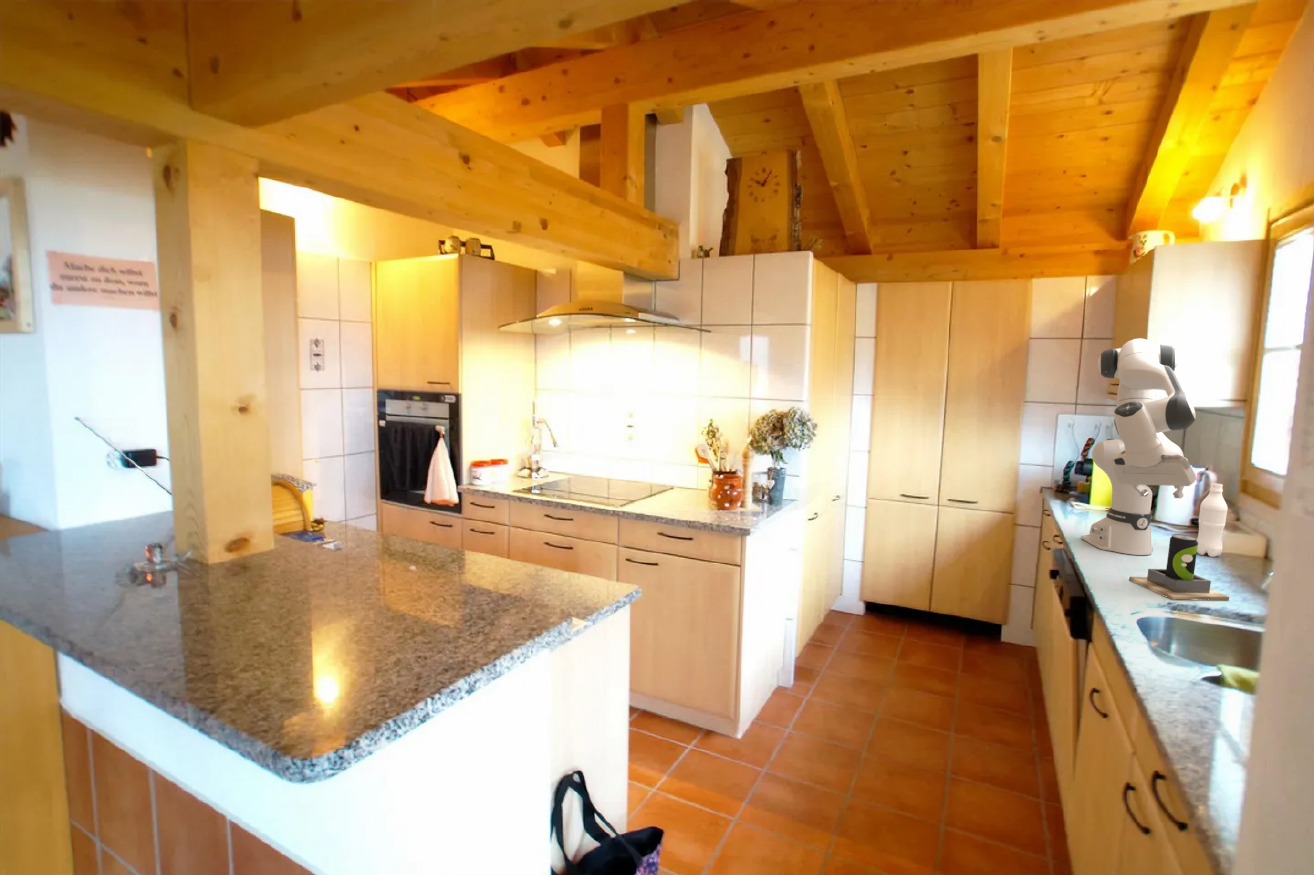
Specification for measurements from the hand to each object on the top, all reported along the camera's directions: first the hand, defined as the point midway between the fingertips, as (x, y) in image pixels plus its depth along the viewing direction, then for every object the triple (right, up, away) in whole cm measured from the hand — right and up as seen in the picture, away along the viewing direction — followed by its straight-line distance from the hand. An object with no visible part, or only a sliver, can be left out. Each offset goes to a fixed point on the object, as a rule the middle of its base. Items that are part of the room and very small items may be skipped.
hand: (1161, 496), depth 188 cm
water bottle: (+40, -23, +30) cm, 56 cm away
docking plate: (+1, -27, -4) cm, 27 cm away
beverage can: (+1, -26, -4) cm, 26 cm away
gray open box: (+1, -27, -4) cm, 27 cm away
